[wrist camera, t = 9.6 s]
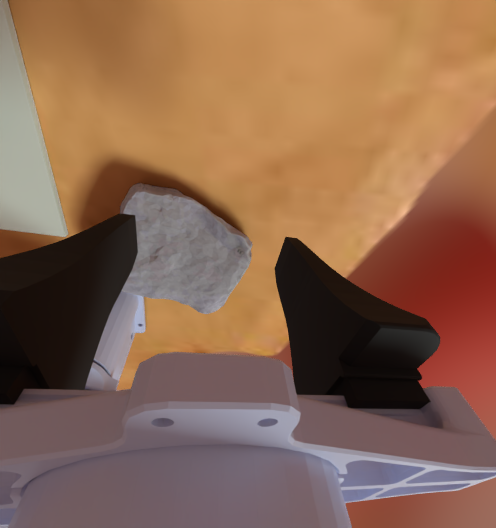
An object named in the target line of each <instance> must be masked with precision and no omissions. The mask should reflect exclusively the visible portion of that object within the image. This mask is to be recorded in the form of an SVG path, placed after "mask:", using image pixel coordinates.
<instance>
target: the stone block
mask: <svg viewBox="0 0 496 528" xmlns="http://www.w3.org/2000/svg"><path fill="white" fill-rule="evenodd" d="M121 213H122V214H129V215H135V218H136V232H137V246H138V254H137V257H136V260H135V263H134V266H133V269H132V271H131V273H130V275H129V277H128V279H127V281H126V283H125V285H124V287H123V289H122V291H123V292H127V293H131V294H134V295H140V296H143V297H148V298H155V299H170V300H175V301H178V302H180V303H182V304H186V305H189V306H191V307H192V308H194V309H195V310H197V311H198V312H200V313H204V314H208V313H212V312H215V311H217V310H218V309H219V308H221V307H222V306H223V305H224V304H225V302H226V300H227V298H228V296H229V295H230V293H231V292H232V291H233V289H234V288H235V286H236V285H237V284H238V283H239V281H240V279H241V277H242V276H243V274H244V273H245V271H246V270H247V268H248V267H249V264H250V261H251V247H252V242H251V241H250V240H249V238H248V237H247V236H246V235H245V234H243V233H241V232H240V231H238V230H237V229H236V228H234V227H232V226H231V225H229V224H228V223H226V222H225V221H224V220H223V219H221V218H220V217H218V216H216V215H215V214H213V213H212V212H211V211H210V210H208V208H206V207H205V206H203V205H201V204H200V203H198V202H197V201H195V200H194V199H193V198H191V197H188V196H185V195H183V194H182V193H181V192H180V191H178V190H176V189H172V188H164V187H158V186H151V185H149V184H142V183H137V184H135V185H133V186H132V187H131V188H130V189H129V191H128V193H127V195H126V197H125V198H124V200H123V201H122V204H121V206H120V214H121Z"/></svg>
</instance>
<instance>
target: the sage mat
mask: <svg viewBox="0 0 496 528" xmlns="http://www.w3.org/2000/svg"><path fill="white" fill-rule="evenodd" d="M0 229H4V230H12V231H20V232H28V233H37V234H45V235H53V236H61V237H66V236H67V235H68V231H67V227H66V223H65V219H64V215H63V211H62V207H61V204H60V200H59V196H58V192H57V188H56V184H55V181H54V177H53V173H52V169H51V165H50V161H49V158H48V154H47V150H46V146H45V142H44V138H43V134H42V131H41V127H40V123H39V119H38V115H37V111H36V108H35V104H34V100H33V96H32V92H31V88H30V84H29V81H28V77H27V73H26V69H25V65H24V61H23V58H22V54H21V50H20V46H19V42H18V38H17V34H16V31H15V27H14V23H13V19H12V15H11V11H10V8H9V4H8V0H0Z"/></svg>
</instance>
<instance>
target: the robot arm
mask: <svg viewBox="0 0 496 528" xmlns="http://www.w3.org/2000/svg"><path fill="white" fill-rule="evenodd" d="M137 254H138V246H137V232H136V218H135V215H129V214H122V213H121V214H118V215H116V216H114V217H111V218H109V219H107V220H105V221H103V222H101V223H99V224H97V225H95V226H93V227H91V228H89V229H87V230H85V231H83V232H80V233H78V234H76V235H73V236H71V237H69V238H66V239H64V240H61V241H59V242H56V243H53V244H50V245H47V246H44V247H41V248H38V249H34V250H31V251H27V252H23V253H19V254H15V255H12V256H8V257H4V258H0V528H352V526H351V523H350V519H349V516H348V512H347V508H346V505H345V503H348V502H356V501H364V500H371V499H379V498H386V497H395V496H402V495H411V494H421V493H431V492H443V491H457V490H461V489H463V488H466V487H469V486H472V485H475V484H478V483H480V482H483V481H486V480H489V479H492V478H494V477H496V440H495V439H494V438H493V436H492V435H491V434H490V432H489V431H488V430H487V428H486V427H485V425H484V424H483V423H482V421H481V420H480V419H479V417H478V416H477V415H476V413H475V412H474V410H473V409H472V408H471V406H470V405H469V404H468V402H467V401H466V400H465V398H464V397H463V396H462V394H461V393H460V392H459V390H458V389H457V388H455V387H436V386H435V387H434V386H432V387H427V388H424V389H423V388H422V387H421V385H420V384H419V382H418V380H421V379H422V376H421V374H420V373H419V371H418V370H417V368H418V367H419V366H420V365H422V364H423V363H424V362H425V361H426V360H427V359H428V358H429V357H430V356H431V355H433V353H434V352H435V351H436V350H437V348H438V346H439V344H440V336H439V335H438V333H437V332H436V331H435V329H434V328H433V327H432V326H431V325H430V323H429V322H428V321H427V320H426V319H425V318H422V317H420V316H417V315H415V314H412V313H410V312H407V311H405V310H402V309H400V308H398V307H395V306H393V305H391V304H389V303H387V302H385V301H382V300H381V299H379V298H377V297H375V296H373V295H371V294H370V293H368V292H366V291H364V290H363V289H361V288H359V287H358V286H356V285H354V284H353V283H351V282H350V281H348V280H347V279H345V278H344V277H343V276H341V275H340V274H338V273H337V272H336V271H335V270H333V269H332V268H331V267H330V266H328V265H327V264H326V263H325V262H324V261H322V260H321V259H320V258H319V257H318V256H317V255H316V254H315V253H313V252H312V251H311V250H310V249H309V248H308V247H307V246H306V245H305V244H303V243H302V242H301V241H300V240H298V239H297V238H290V237H285V240H284V243H283V246H282V249H281V252H280V255H279V258H278V261H277V264H276V266H275V275H276V284H277V288H278V292H279V296H280V300H281V303H282V307H283V311H284V315H285V318H286V323H287V327H288V334H289V341H290V348H291V357H292V366H293V377H294V381H293V377H292V372H291V369H290V368H289V367H288V366H287V365H285V364H284V363H283V362H282V361H280V360H277V359H273V358H269V357H264V356H246V355H226V354H206V353H186V352H173V353H163V354H157V355H155V356H153V357H151V358H149V359H147V360H145V361H143V362H141V363H140V364H139V367H138V369H137V371H136V374H135V377H134V381H133V384H132V387H131V389H127V390H120V391H116V389H117V386H118V383H119V379H120V377H121V374H122V371H123V368H124V365H125V362H126V359H127V356H128V353H129V350H130V348H131V345H132V342H133V339H134V336H135V333H143V332H145V329H146V324H145V308H144V297H143V296H140V295H134V294H131V293H127V292H123V291H122V289H123V287H124V285H125V283H126V281H127V279H128V277H129V275H130V273H131V271H132V269H133V266H134V263H135V260H136V257H137Z"/></svg>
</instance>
